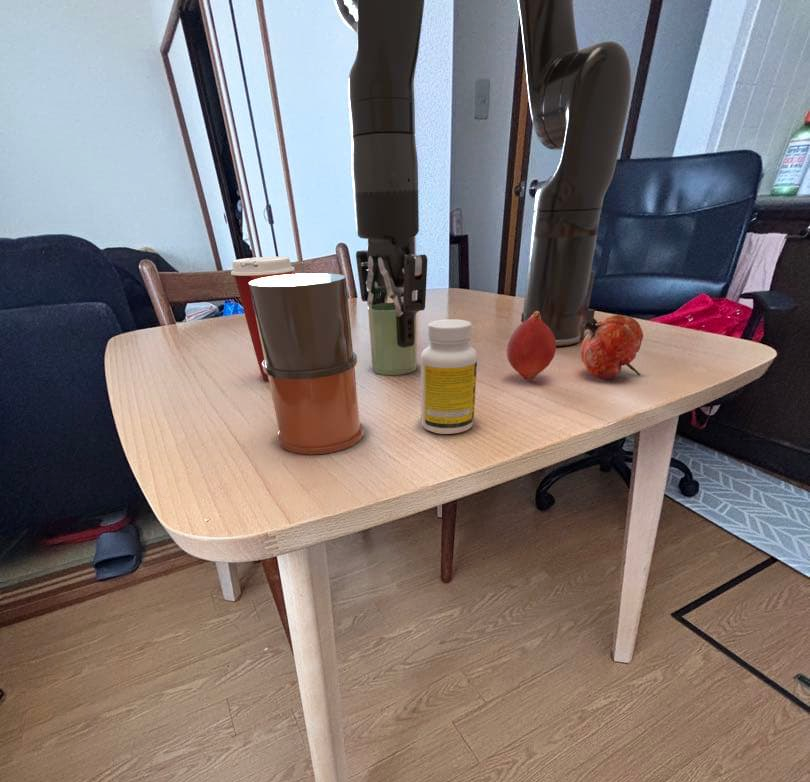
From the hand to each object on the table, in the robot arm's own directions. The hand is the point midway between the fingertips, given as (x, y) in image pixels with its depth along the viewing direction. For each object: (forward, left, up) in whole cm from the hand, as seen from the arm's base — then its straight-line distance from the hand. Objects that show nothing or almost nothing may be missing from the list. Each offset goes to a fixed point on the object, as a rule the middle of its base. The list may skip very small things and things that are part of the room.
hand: (392, 341), depth 64 cm
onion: (-11, +15, -4) cm, 19 cm away
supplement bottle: (+6, +21, -4) cm, 22 cm away
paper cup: (+14, -7, -4) cm, 16 cm away
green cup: (0, 0, -4) cm, 4 cm away
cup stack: (+18, +16, -4) cm, 24 cm away
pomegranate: (-20, +20, -4) cm, 29 cm away
